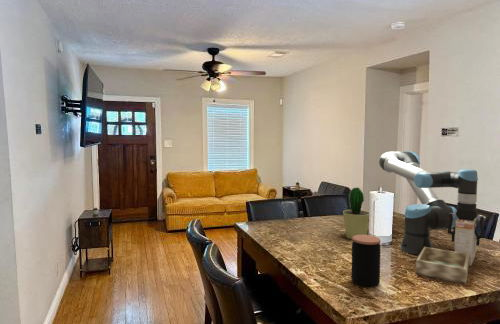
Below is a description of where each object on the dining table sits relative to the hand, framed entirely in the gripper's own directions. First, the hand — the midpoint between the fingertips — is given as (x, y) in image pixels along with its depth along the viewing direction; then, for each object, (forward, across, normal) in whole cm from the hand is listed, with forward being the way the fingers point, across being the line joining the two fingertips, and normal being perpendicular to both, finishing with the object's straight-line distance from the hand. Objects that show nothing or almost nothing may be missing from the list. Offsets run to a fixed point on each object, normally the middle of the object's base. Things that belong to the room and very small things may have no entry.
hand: (464, 250), depth 158 cm
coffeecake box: (+5, 0, 0) cm, 5 cm away
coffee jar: (+5, -31, -53) cm, 62 cm away
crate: (+5, -7, -21) cm, 23 cm away
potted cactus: (+5, -54, +8) cm, 55 cm away
